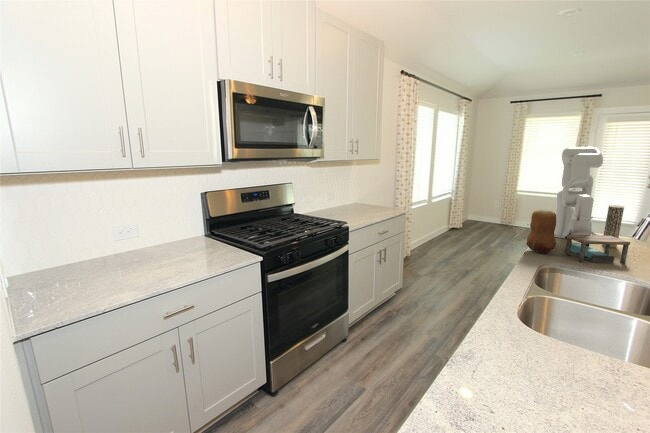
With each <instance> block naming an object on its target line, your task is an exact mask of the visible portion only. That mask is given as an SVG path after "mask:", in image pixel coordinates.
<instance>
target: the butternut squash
mask: <svg viewBox="0 0 650 433" xmlns="http://www.w3.org/2000/svg"><path fill="white" fill-rule="evenodd" d="M530 217H531V219H530V231H529V234H528V236H527V238H526V246H527V247H528V248H529V250H530V251H534V252H536V253H538V254H544V255H545V254H547V253H548V254H549V253H550V252H552V251H554V250H555V249H556V245H557V241H556V237H555V236H554V231H555V227H556V212H554V211H553V210H550V209H549V210H548V209H547V210H545V209H540V208H539V209H538V208H537V209H535V210H534V211H533V212H532V214H531V216H530Z"/></svg>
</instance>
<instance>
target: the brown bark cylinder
mask: <svg viewBox="0 0 650 433" xmlns="http://www.w3.org/2000/svg"><path fill="white" fill-rule="evenodd" d="M624 210H625V206H624V205H619V204H617V205H616V204H609V205H608V208H607V214H606V220H605V225H604V230H603V235H605V236H613V237H616V238H619V237H620V231H621V227H622V226H621V225H622V222H623V215H624ZM619 239H620V238H619ZM601 245H602V246H603V247H605V245H606V244H601ZM617 247H618V245H610V249H612V248H615V249H616V248H617Z"/></svg>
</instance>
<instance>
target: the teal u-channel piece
mask: <svg viewBox="0 0 650 433" xmlns="http://www.w3.org/2000/svg"><path fill="white" fill-rule="evenodd" d="M580 249H581V243H579V242H572V244H571V248H570V252H572V253H574V254H576V253H580ZM592 255H593V256H607V254H605V253H604V252H602V251H600V250H597V249H594V248H592V247H590V246H589V247H588V246H586V249H585V255H584V256H586V257H589V258H591V257H592Z"/></svg>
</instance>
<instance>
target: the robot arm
mask: <svg viewBox="0 0 650 433" xmlns="http://www.w3.org/2000/svg"><path fill="white" fill-rule="evenodd" d="M561 159H562V165H563V170H562V172H563V173H562V177H561V185H562V187H563V188H562V189H561V190H560V191H558V192H557V194H556V212H555V214H556V227H555V231H554V236H555V238H558V239H565V240H566V242H565V245H566V244H567V235H597V234H596V233H595V232H594V231H592V230H593V228H592V221H591V220H592V219H593V218H594V217H593V216H592V213H593V207H594V206H593V205H594V198H593V196H592V193H593V192H592V191H593V185H594V178H593V176H592V175H591V173H590V172H591V169H597V168H599V169H600V168H601V167H602V166H603V164H604V156H603V154H602V152H601V150H600V149H599V148H598V147H594V146H586V147H585V146H581V147H580V146H579V147H577V146H575V147H574V146H573V147H572V146H571V147H567V148H565V149H563V151H562V152H561ZM570 189H571V190H570ZM572 189H578V190H572ZM579 189H580V190H579ZM573 208H574V209H573ZM572 243H573V241H572V242H571V244H572ZM586 246H588V247H590V244H586Z"/></svg>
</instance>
